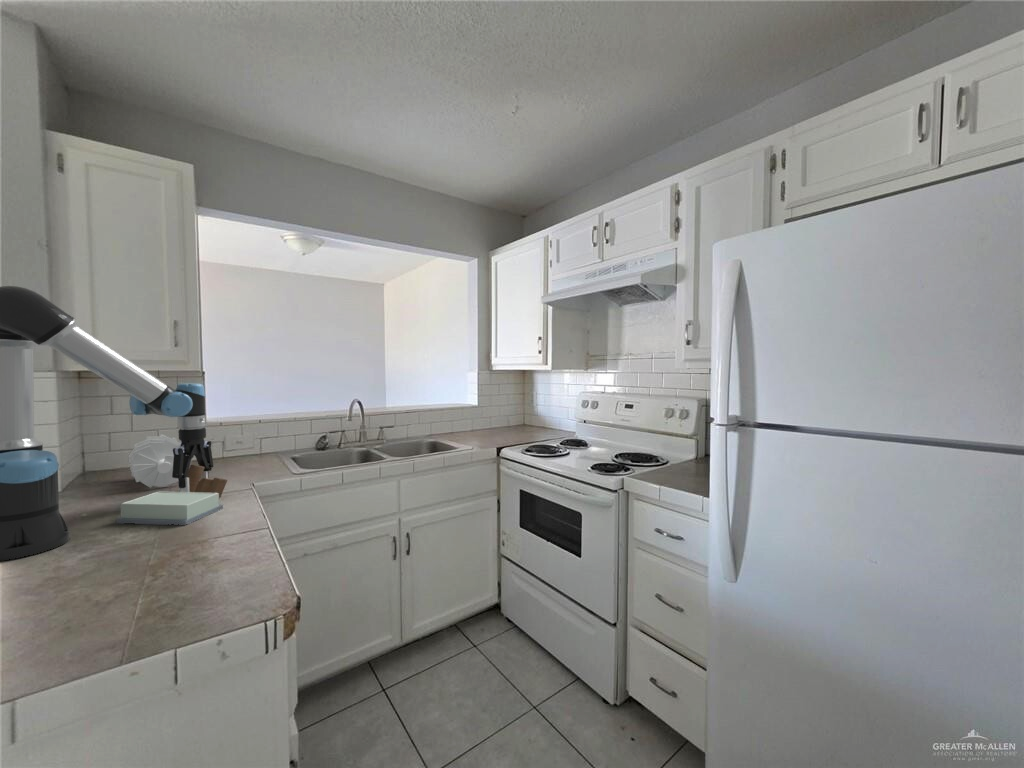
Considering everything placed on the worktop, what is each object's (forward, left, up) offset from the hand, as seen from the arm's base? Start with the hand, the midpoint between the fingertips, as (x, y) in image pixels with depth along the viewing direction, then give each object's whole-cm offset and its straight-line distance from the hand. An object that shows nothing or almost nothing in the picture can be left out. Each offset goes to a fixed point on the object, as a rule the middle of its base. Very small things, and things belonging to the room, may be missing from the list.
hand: (194, 492), depth 143 cm
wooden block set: (0, -1, -1) cm, 2 cm away
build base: (-19, -9, -1) cm, 21 cm away
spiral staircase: (+15, +27, -1) cm, 31 cm away
